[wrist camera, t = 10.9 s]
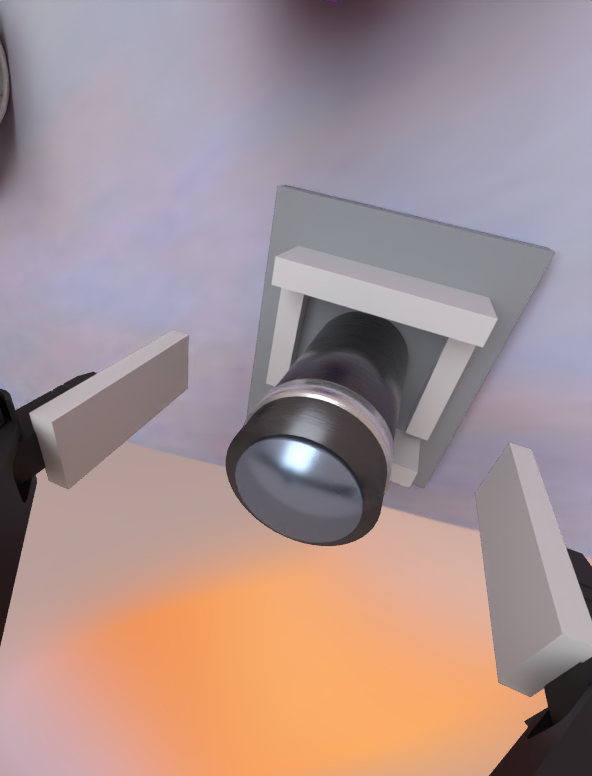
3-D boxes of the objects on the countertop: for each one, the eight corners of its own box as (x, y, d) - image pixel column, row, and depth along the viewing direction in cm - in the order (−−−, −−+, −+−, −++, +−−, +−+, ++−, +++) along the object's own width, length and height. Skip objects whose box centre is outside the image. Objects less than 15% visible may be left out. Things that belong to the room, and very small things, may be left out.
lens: (358, 414, 21) (302, 572, 13) (294, 352, 20) (191, 473, 12) (432, 362, 18) (424, 522, 10) (360, 287, 17) (285, 387, 9)
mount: (253, 411, 25) (224, 448, 22) (286, 185, 18) (248, 186, 14) (424, 475, 23) (421, 527, 19) (547, 247, 15) (578, 267, 12)
